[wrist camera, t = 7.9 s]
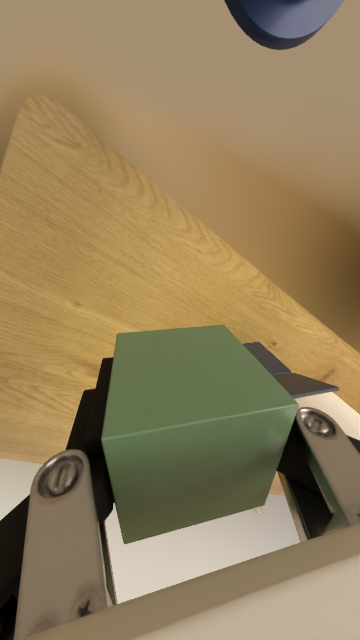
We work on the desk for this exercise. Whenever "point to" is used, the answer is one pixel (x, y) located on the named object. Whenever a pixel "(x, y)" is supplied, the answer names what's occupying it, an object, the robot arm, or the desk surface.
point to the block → (190, 429)
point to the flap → (303, 385)
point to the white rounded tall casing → (334, 411)
